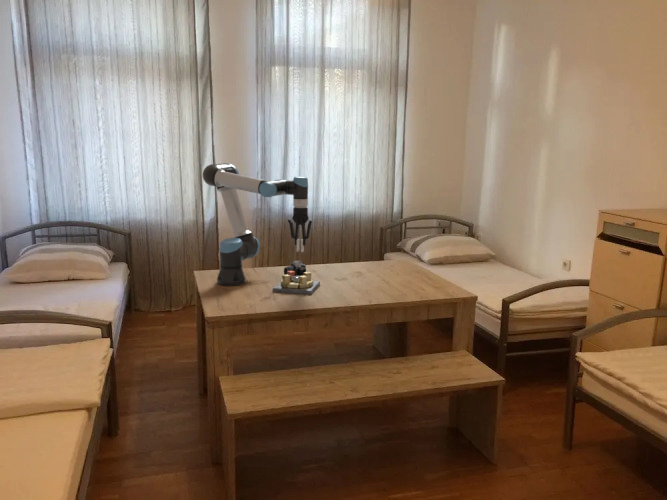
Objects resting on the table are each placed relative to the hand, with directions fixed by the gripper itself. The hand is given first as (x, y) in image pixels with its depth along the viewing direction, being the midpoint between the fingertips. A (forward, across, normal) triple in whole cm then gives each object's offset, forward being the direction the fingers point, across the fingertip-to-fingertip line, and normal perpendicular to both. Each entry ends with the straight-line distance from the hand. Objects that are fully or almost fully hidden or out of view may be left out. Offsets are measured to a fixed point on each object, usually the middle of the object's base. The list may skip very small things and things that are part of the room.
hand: (300, 251), depth 303 cm
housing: (+18, 0, -6) cm, 20 cm away
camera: (+19, -7, +14) cm, 25 cm away
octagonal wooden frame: (+16, 0, -6) cm, 17 cm away
